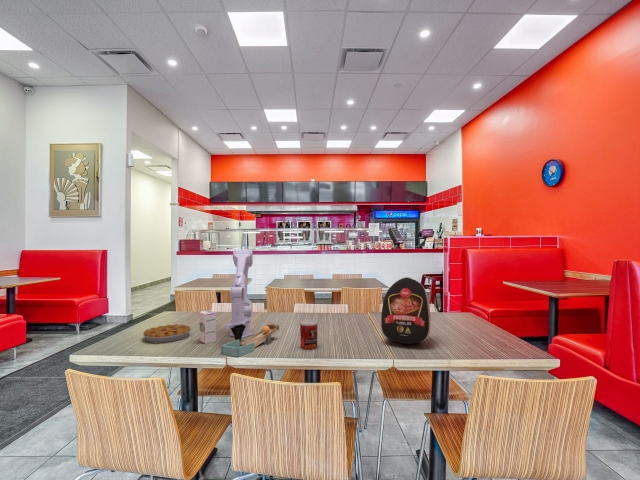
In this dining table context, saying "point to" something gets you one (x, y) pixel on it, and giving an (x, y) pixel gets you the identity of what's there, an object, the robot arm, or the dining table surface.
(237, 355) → the teal u-shaped frame
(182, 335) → the pie
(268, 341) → the fulcrum
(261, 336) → the lever
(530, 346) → the dining table surface
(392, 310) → the packaged food
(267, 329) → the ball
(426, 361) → the dining table surface
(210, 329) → the syrup box
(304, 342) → the canned food
